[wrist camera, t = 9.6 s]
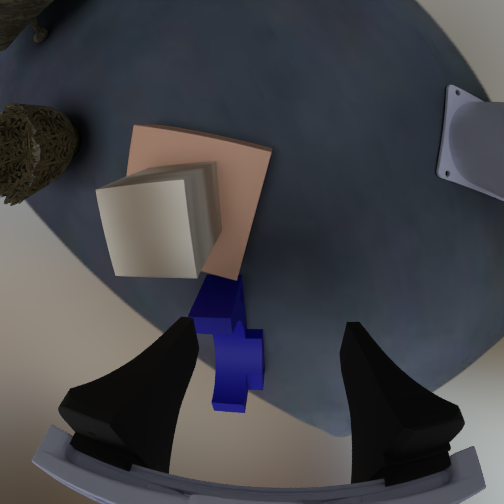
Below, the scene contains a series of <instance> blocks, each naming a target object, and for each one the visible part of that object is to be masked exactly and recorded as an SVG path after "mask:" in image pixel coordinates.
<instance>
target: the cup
mask: <svg viewBox="0 0 504 504" xmlns="http://www.w3.org/2000/svg"><path fill="white" fill-rule="evenodd" d="M3 108H4V109H5V110H6V111H4V112H1V113H0V197H3V196H6V199H5V201H4V204H8V203H11V205H10V206H12V205H15V204H17V203H21V202H22V201H23V200H25V199H26V198H28V197H29V196H31V195H33V194H34V193H36V192H38V191H39V190H41V189H42V188H44V187H46V186H47V185H49V184H50V183H52V182H53V181H54V180H56V179H57V178H58V177H59V176H60V175H61V174H62V173H63V172H64V171H65V170H66V168H67V167H68V165H69V163H70V161H71V159H72V158H73V157H74V156H75V155H76V154H77V152H78V151H79V148H80V145H81V133H80V130H79V128H78V127H77V126H76V125H75V124H74V123H72V122H70V120H69V119H68V118H67V116H66V115H65V114H63V113H62V112H61V111H59V110H57V109H54V108H51V107H46V106H38V105H26V104H14V103H11V104H10V105H8V106H4V107H3Z"/></svg>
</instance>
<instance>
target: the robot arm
mask: <svg viewBox="0 0 504 504" xmlns="http://www.w3.org/2000/svg"><path fill="white" fill-rule="evenodd" d="M455 91H457V93H458V95H456V92H455ZM446 171H447V172H448V174H447V176H446V175H445V172H446ZM436 173H437V175H438V177H440V178H443V179H446V180H449V181H452V182H455V183H458V184H461V185H463V186H466V187H469V188H472V189H474V190H477V191H480V192H482V193H485V194H487V195H490V196H492V197H495V198H497V199H499V200H502V201H504V102H484V101H482V100H480V99H479V98H477V97H475V96H473V95H471V94H469V93H468V92H466V91H464V90H462V89H460V88H458V87H456V86H454V85H448V86H447V88H446V103H445V114H444V124H443V132H442V139H441V146H440V152H439V158H438V164H437V169H436ZM198 351H199V345H198V340H197V335H196V330H195V325H194V319H193V318H190V317H181V318H179V319H178V320H177V321H176V322H175V323H174V324H173V325H172V326H171V327H170V328H169V329H168V330H167V331H166V332H165V333H164V334H163V335H162V336H161V337H159V338H158V340H156V341H155V342H154V343H153V344H152V345H151V346H149V347H148V348H147V349H146V350H144V351H143V352H142V353H141V354H140V355H138V356H137V357H135V358H134V359H133V360H131V361H130V362H128V363H127V364H125V365H123V366H122V367H120V368H118V369H116V370H115V371H113V372H111V373H109V374H107V375H105V376H103V377H101V378H99V379H96V380H94V381H92V382H89V383H86V384H83V385H81V386H77V387H74V388H70V390H69V391H68V393H67V394H66V396H65V398H64V399H63V401H62V402H61V404H60V406H59V408H58V410H59V413H60V415H61V416H62V418H63V419H64V420H65V421H66V422H67V423H68V424H69V426H70V427H71V428H72V429H73V430H74V431H75V434H74V436H72V435H70V434H69V433H67V432H65V431H63V430H61V429H59V428H57V427H55V426H53V425H51V426H50V427H49V429H48V431H47V433H46V435H45V436H44V438H43V440H42V442H41V444H40V445H39V448H38V449H37V451H36V453H35V455H34V457H33V459H32V462H33V463H34V464H36V465H37V466H38V467H40V468H41V469H42V470H43V471H45V472H46V473H48V474H49V475H51V476H52V477H53V478H55V479H56V480H58V481H59V482H61V483H63V484H64V485H66V486H68V487H70V488H72V489H74V490H75V491H77V492H79V493H81V494H83V495H85V496H87V497H89V498H91V499H93V500H95V501H97V502H99V503H101V504H459V503H461V502H463V501H465V500H466V499H468V498H470V497H472V496H473V495H475V494H477V493H478V492H480V491H482V490H483V489H485V487H486V485H485V481H484V478H483V473H482V470H481V466H480V463H479V460H478V456H477V453H476V450H475V447H474V446H472V447H469V448H467V449H464V450H462V451H459V452H457V453H455V454H453V455H451V456H449V453H448V451H449V450H450V449H451V447H450V444H449V442H450V441H451V440H452V439H453V438H454V437H455V436H456V435H457V434H458V433H459V432H460V431H461V430H462V428H463V426H464V424H465V422H464V419H463V416H462V414H461V411H460V409H459V407H458V406H457V405H455V404H453V403H451V402H449V401H447V400H445V399H442V398H440V397H439V396H437V395H435V394H434V393H432V392H430V391H429V390H427V389H426V388H424V387H423V386H421V385H420V384H418V383H417V382H416V381H414V380H413V379H412V378H410V377H409V376H408V375H407V374H406V373H405V372H403V371H402V370H401V369H400V368H399V367H398V366H397V365H396V364H395V363H394V362H393V361H392V360H391V359H390V358H389V357H388V356H387V355H386V354H385V353H384V351H383V350H382V349H381V348H380V347H379V346H378V344H377V343H376V342H375V341H374V340H373V338H372V337H371V336H370V335H369V333H368V332H367V331H366V330H365V328H364V327H363V326H362V325H361V323H360V322H347V324H346V328H345V333H344V337H343V341H342V345H341V349H340V363H341V372H342V377H343V381H344V386H345V390H346V395H347V400H348V404H349V410H350V417H351V431H352V476H351V484H347V485H339V486H327V487H311V488H262V487H247V486H235V485H227V484H219V483H212V482H206V481H200V480H194V479H189V478H184V477H179V476H175V475H171V474H169V465H170V457H171V451H172V444H173V439H174V433H175V428H176V424H177V419H178V415H179V410H180V407H181V404H182V400H183V398H184V395H185V392H186V389H187V387H188V384H189V382H190V379H191V376H192V373H193V371H194V368H195V365H196V361H197V356H198ZM184 494H186V495H190V496H186V495H184Z"/></svg>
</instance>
